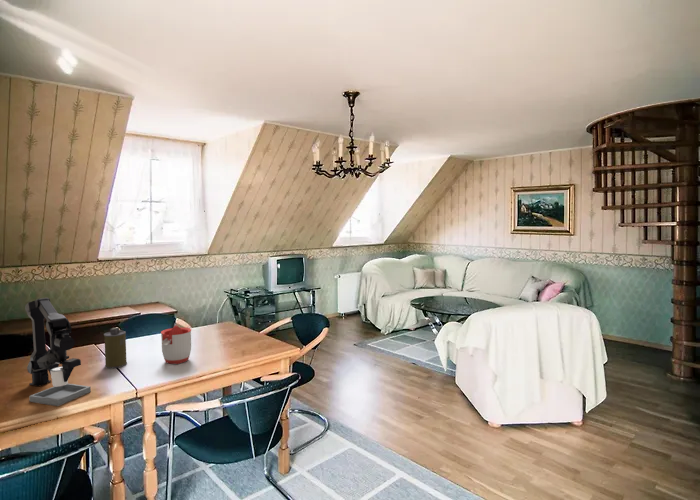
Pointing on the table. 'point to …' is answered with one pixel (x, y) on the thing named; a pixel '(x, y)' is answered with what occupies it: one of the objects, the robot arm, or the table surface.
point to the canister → (115, 348)
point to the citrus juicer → (176, 344)
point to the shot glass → (57, 377)
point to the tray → (60, 394)
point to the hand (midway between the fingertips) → (60, 380)
